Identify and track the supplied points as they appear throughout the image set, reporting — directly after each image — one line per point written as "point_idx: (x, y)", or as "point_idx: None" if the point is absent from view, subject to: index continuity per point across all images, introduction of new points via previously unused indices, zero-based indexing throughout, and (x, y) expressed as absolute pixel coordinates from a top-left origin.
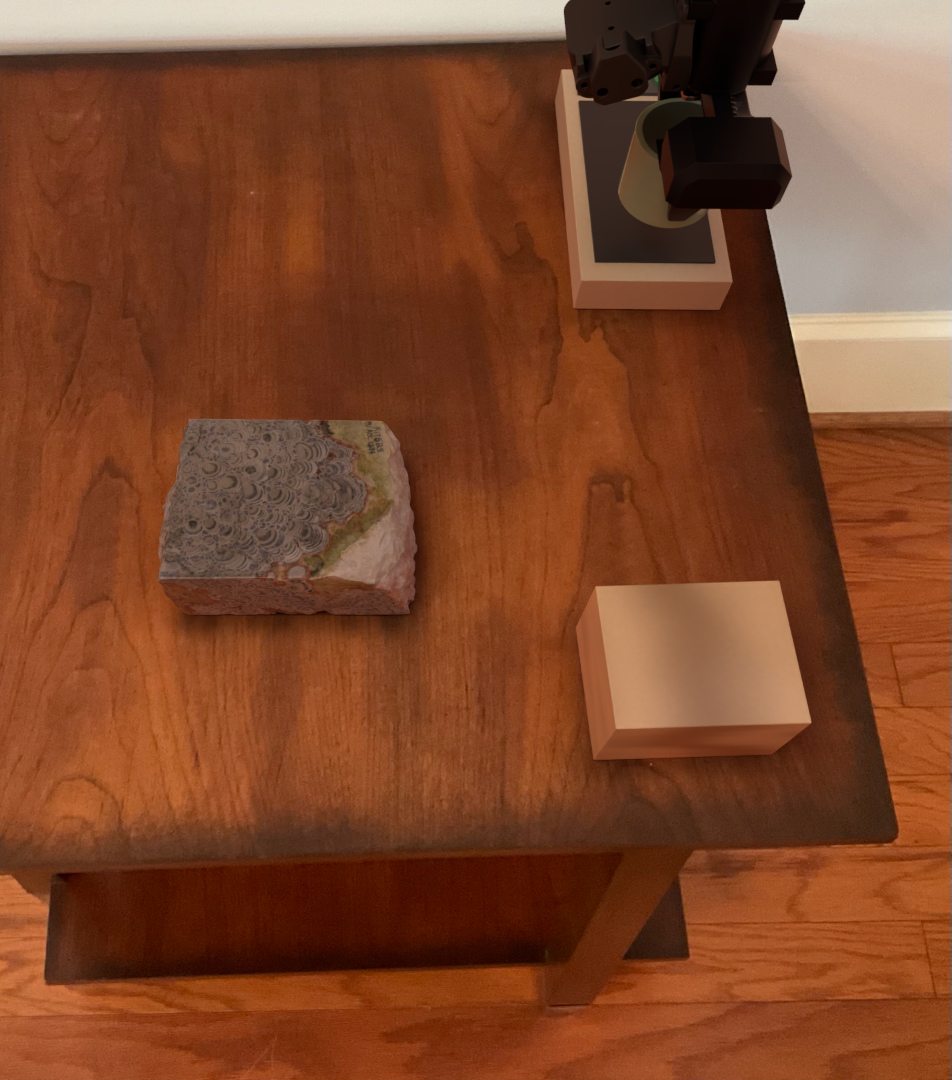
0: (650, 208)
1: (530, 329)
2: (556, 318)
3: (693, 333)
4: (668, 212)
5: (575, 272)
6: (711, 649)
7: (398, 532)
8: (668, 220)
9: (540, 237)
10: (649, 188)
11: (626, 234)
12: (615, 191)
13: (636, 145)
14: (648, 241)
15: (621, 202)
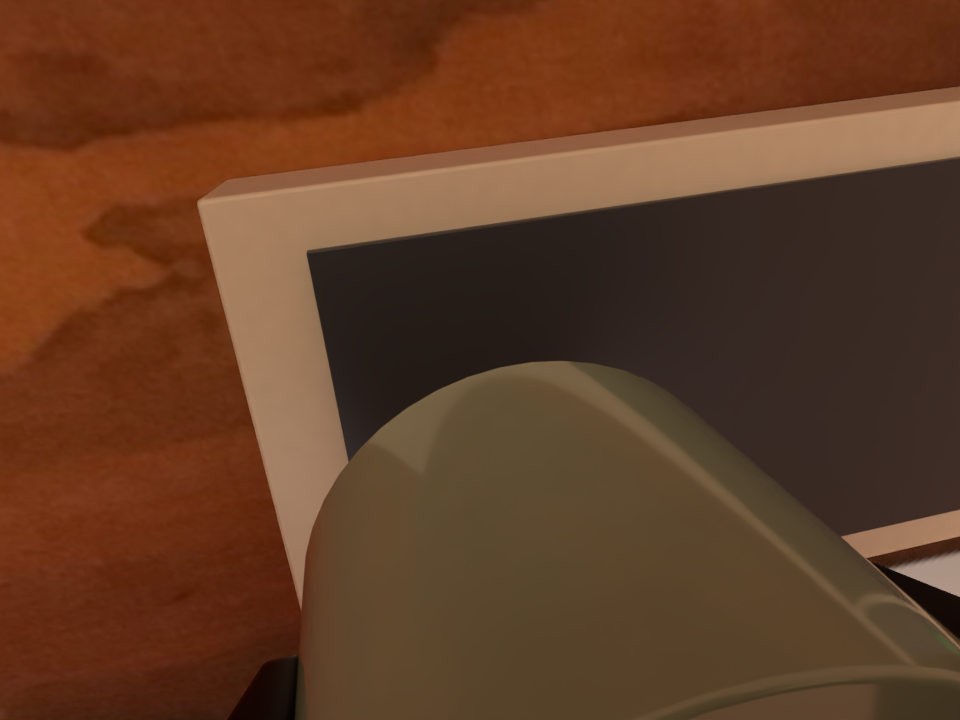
0: (311, 585)
1: (79, 15)
2: (165, 119)
3: (222, 539)
4: (249, 705)
5: (317, 175)
6: None
7: None
8: (267, 662)
9: (535, 40)
10: (333, 650)
11: (464, 360)
12: (669, 305)
13: (590, 681)
14: None
15: (443, 387)
